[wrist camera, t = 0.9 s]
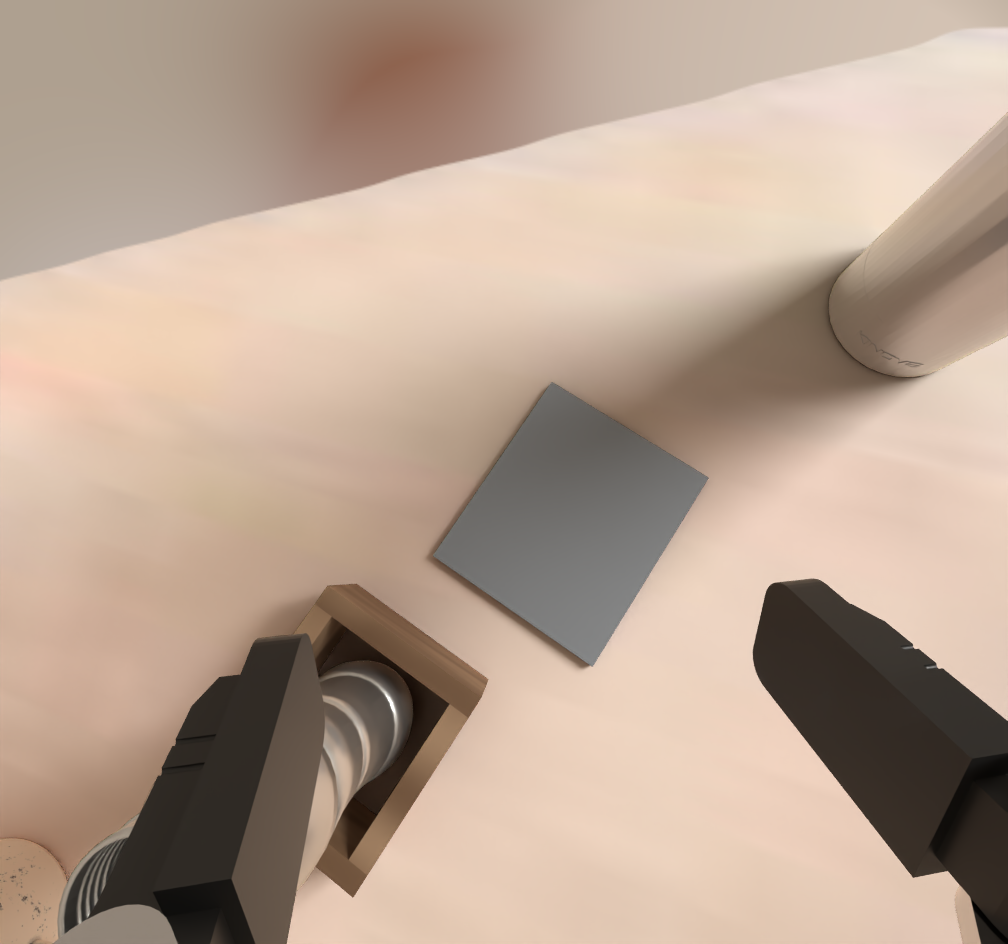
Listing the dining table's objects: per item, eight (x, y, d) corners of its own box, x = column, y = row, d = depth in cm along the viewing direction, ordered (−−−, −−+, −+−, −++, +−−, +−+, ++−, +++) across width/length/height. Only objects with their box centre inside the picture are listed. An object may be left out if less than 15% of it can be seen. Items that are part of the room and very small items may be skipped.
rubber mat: (551, 384, 36) (551, 381, 36) (705, 479, 35) (708, 477, 34) (434, 556, 34) (432, 555, 34) (591, 665, 33) (592, 666, 32)
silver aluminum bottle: (442, 714, 33) (310, 925, 13) (357, 791, 32) (82, 1135, 12) (378, 631, 34) (167, 711, 14) (294, 704, 33) (-47, 894, 13)
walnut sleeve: (356, 584, 34) (327, 585, 29) (488, 679, 33) (481, 697, 28) (247, 739, 33) (198, 768, 28) (380, 846, 31) (352, 897, 26)
